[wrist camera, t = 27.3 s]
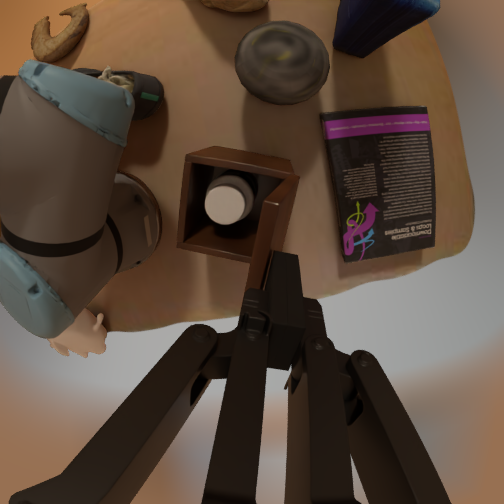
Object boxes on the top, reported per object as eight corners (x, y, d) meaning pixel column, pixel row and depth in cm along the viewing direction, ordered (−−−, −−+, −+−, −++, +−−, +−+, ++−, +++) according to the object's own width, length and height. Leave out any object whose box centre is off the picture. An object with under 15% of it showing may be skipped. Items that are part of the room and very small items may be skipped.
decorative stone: (233, 46, 27) (216, 18, 18) (311, 32, 25) (321, 1, 16) (251, 115, 31) (239, 110, 22) (330, 102, 29) (349, 92, 20)
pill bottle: (261, 204, 35) (255, 228, 27) (221, 209, 36) (204, 234, 28) (254, 164, 33) (246, 175, 25) (214, 170, 34) (193, 184, 26)
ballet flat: (51, 74, 28) (17, 73, 21) (175, 68, 29) (148, 55, 21) (43, 120, 32) (9, 125, 25) (163, 126, 32) (133, 128, 25)
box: (318, 114, 31) (339, 255, 38) (321, 111, 27) (344, 266, 35) (415, 107, 28) (426, 241, 35) (427, 105, 25) (436, 250, 32)
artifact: (62, 58, 25) (13, 63, 24) (74, 64, 28) (24, 66, 27) (95, -3, 21) (40, 9, 21) (104, 5, 25) (50, 14, 24)
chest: (204, 213, 37) (176, 247, 27) (214, 145, 33) (185, 154, 23) (274, 228, 37) (272, 268, 27) (290, 160, 33) (294, 173, 23)
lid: (234, 340, 17) (246, 345, 17) (263, 199, 13) (280, 204, 13) (268, 269, 27) (276, 271, 27) (290, 173, 23) (300, 176, 23)
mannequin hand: (78, 321, 55) (42, 297, 46) (130, 309, 51) (91, 279, 43) (70, 369, 47) (29, 349, 38) (124, 367, 43) (77, 344, 35)
